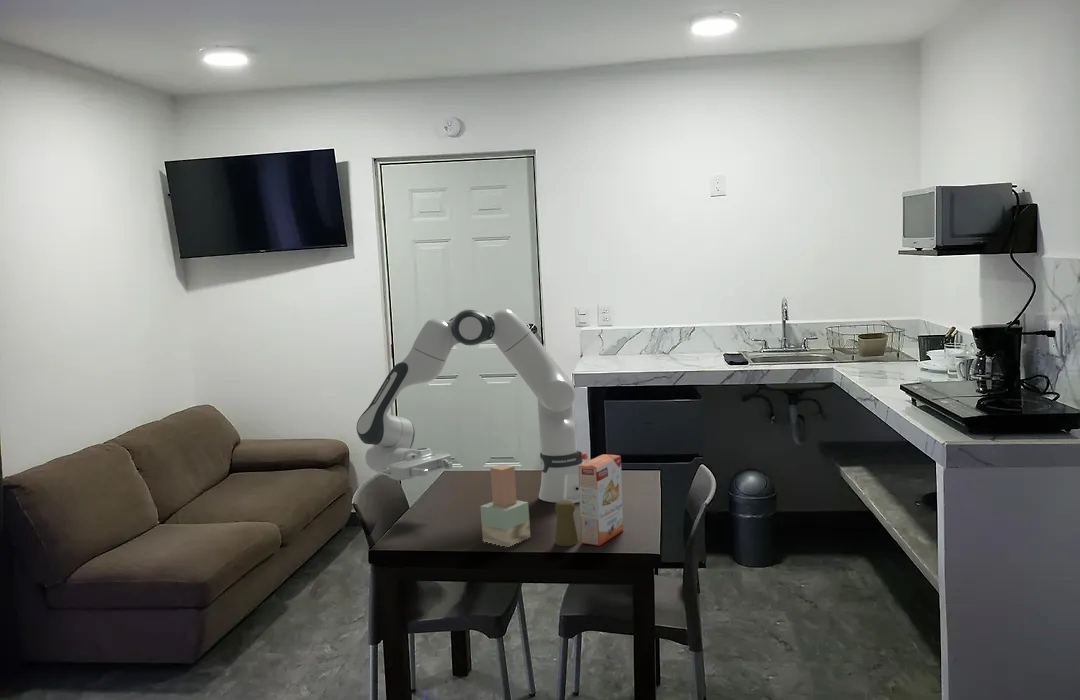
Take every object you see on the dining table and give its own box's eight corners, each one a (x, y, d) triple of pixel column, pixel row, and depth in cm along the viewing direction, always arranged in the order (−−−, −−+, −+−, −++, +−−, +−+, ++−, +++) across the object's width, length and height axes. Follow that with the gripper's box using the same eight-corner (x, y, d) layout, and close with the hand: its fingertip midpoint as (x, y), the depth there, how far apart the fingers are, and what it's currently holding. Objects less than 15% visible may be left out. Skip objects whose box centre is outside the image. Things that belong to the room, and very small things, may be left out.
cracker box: (601, 547, 215) (597, 466, 213) (580, 544, 218) (576, 465, 216) (625, 530, 227) (621, 454, 224) (605, 528, 230) (601, 453, 228)
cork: (554, 539, 223) (551, 499, 222) (576, 537, 223) (574, 497, 222) (556, 547, 217) (554, 505, 216) (579, 545, 217) (577, 503, 216)
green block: (504, 515, 230) (503, 497, 230) (529, 520, 225) (528, 502, 224) (481, 524, 224) (480, 506, 223) (506, 529, 218) (505, 511, 217)
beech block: (505, 533, 231) (504, 515, 230) (530, 538, 225) (529, 520, 225) (482, 542, 224) (481, 524, 224) (507, 548, 218) (506, 529, 218)
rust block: (505, 500, 227) (502, 464, 226) (516, 503, 224) (514, 466, 223) (492, 504, 224) (490, 467, 223) (504, 507, 220) (502, 470, 219)
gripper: (378, 460, 241) (409, 466, 232) (431, 446, 257) (463, 451, 248) (379, 482, 242) (411, 488, 233) (432, 466, 257) (464, 472, 248)
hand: (438, 469), depth 240 cm, fingers open, 8 cm apart
